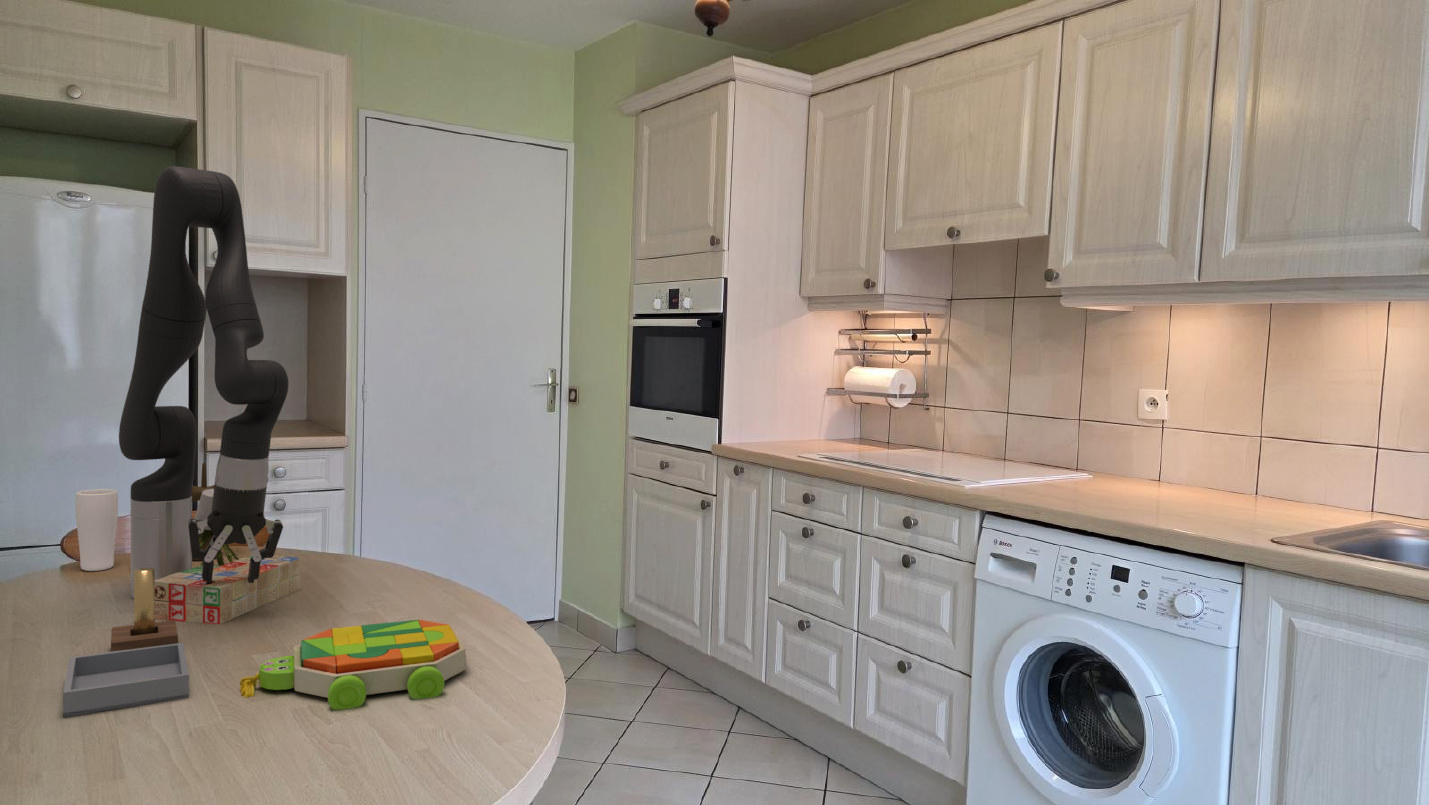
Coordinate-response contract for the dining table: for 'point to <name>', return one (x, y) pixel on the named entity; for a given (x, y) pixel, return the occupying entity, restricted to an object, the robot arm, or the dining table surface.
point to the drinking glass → (96, 527)
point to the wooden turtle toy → (367, 663)
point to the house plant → (203, 513)
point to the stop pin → (144, 601)
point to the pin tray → (125, 679)
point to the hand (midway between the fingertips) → (229, 581)
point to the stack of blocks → (224, 590)
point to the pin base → (143, 636)
